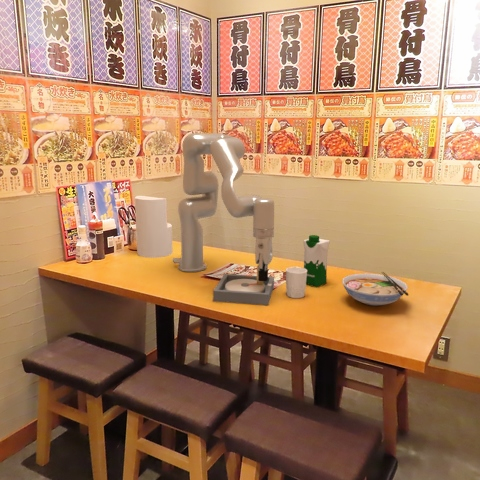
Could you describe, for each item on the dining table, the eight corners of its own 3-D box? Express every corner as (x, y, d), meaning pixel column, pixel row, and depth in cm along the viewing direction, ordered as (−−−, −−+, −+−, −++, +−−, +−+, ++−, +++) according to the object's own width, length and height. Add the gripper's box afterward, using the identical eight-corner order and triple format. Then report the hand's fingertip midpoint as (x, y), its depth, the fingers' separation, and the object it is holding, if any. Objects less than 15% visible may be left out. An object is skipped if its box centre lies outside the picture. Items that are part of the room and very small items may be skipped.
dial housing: (213, 301, 165) (213, 290, 164) (224, 283, 184) (224, 273, 183) (268, 305, 162) (268, 294, 161) (273, 286, 181) (274, 276, 180)
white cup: (292, 300, 167) (293, 274, 165) (281, 293, 174) (281, 268, 171) (310, 296, 170) (311, 271, 168) (298, 290, 177) (299, 265, 175)
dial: (231, 299, 164) (232, 275, 162) (220, 285, 178) (220, 263, 175) (270, 295, 168) (271, 271, 166) (256, 282, 182) (257, 260, 180)
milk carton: (299, 283, 185) (301, 235, 180) (312, 278, 191) (314, 231, 187) (317, 288, 179) (320, 239, 174) (330, 283, 186) (332, 235, 181)
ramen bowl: (335, 289, 178) (336, 269, 176) (394, 290, 178) (396, 270, 176) (347, 315, 154) (349, 292, 152) (416, 317, 153) (418, 294, 151)
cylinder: (155, 259, 216) (153, 201, 209) (129, 253, 225) (127, 197, 218) (179, 251, 230) (178, 196, 223) (154, 246, 239) (152, 193, 232)
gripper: (270, 237, 158) (269, 287, 162) (276, 228, 172) (276, 275, 176) (249, 236, 159) (248, 286, 163) (257, 227, 173) (257, 274, 178)
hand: (263, 280), depth 170 cm, fingers closed
